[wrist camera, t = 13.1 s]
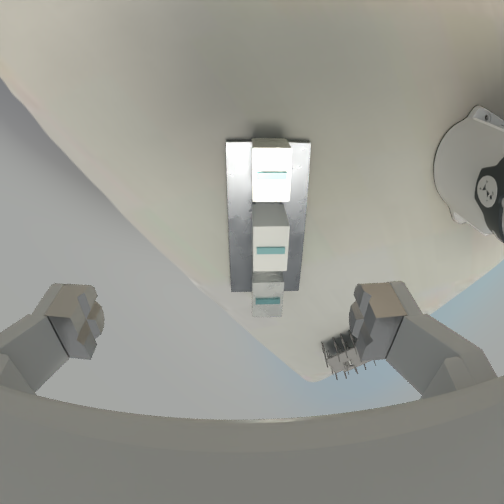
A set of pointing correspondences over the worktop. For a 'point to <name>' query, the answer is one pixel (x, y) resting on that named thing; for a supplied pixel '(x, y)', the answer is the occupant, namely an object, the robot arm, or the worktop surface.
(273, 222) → the block
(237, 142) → the rail plate
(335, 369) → the building frame
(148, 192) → the worktop surface
